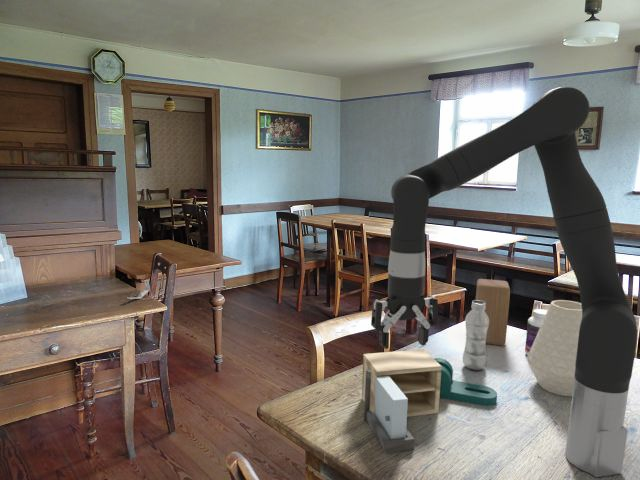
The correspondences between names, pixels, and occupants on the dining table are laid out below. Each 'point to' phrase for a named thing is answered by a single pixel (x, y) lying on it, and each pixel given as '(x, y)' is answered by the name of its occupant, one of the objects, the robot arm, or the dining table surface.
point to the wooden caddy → (411, 378)
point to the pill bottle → (534, 327)
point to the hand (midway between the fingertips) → (403, 345)
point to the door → (390, 408)
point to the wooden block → (495, 308)
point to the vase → (557, 347)
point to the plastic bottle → (476, 336)
